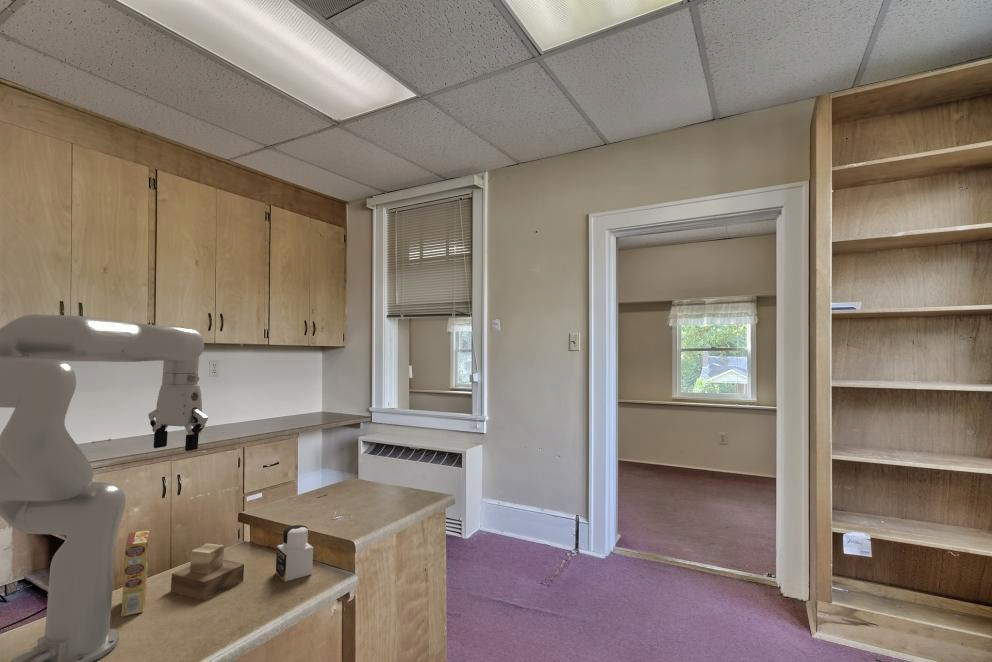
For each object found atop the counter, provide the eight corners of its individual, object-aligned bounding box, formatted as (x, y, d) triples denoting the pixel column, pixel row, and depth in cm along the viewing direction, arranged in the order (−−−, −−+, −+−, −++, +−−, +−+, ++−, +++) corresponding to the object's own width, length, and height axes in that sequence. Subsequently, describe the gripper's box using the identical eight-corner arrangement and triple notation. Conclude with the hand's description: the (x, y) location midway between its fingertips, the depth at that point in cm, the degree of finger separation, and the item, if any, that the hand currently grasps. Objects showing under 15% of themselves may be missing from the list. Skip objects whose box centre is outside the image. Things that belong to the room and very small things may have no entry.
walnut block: (203, 602, 113) (204, 582, 113) (170, 592, 116) (171, 573, 117) (243, 582, 123) (244, 564, 123) (211, 574, 127) (212, 556, 127)
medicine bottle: (275, 572, 128) (277, 526, 129) (302, 565, 133) (304, 521, 133) (284, 582, 123) (287, 534, 123) (312, 574, 127) (314, 528, 128)
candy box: (143, 612, 106) (148, 541, 107) (119, 618, 104) (124, 545, 105) (146, 596, 114) (150, 529, 115) (123, 600, 111) (128, 532, 112)
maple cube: (207, 574, 117) (209, 553, 117) (189, 571, 118) (191, 550, 118) (223, 565, 122) (224, 545, 122) (205, 563, 123) (206, 543, 123)
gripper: (220, 381, 124) (216, 448, 123) (166, 378, 128) (161, 444, 127) (195, 382, 116) (190, 454, 115) (138, 379, 121) (133, 448, 120)
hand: (175, 448), depth 121 cm, fingers open, 9 cm apart
